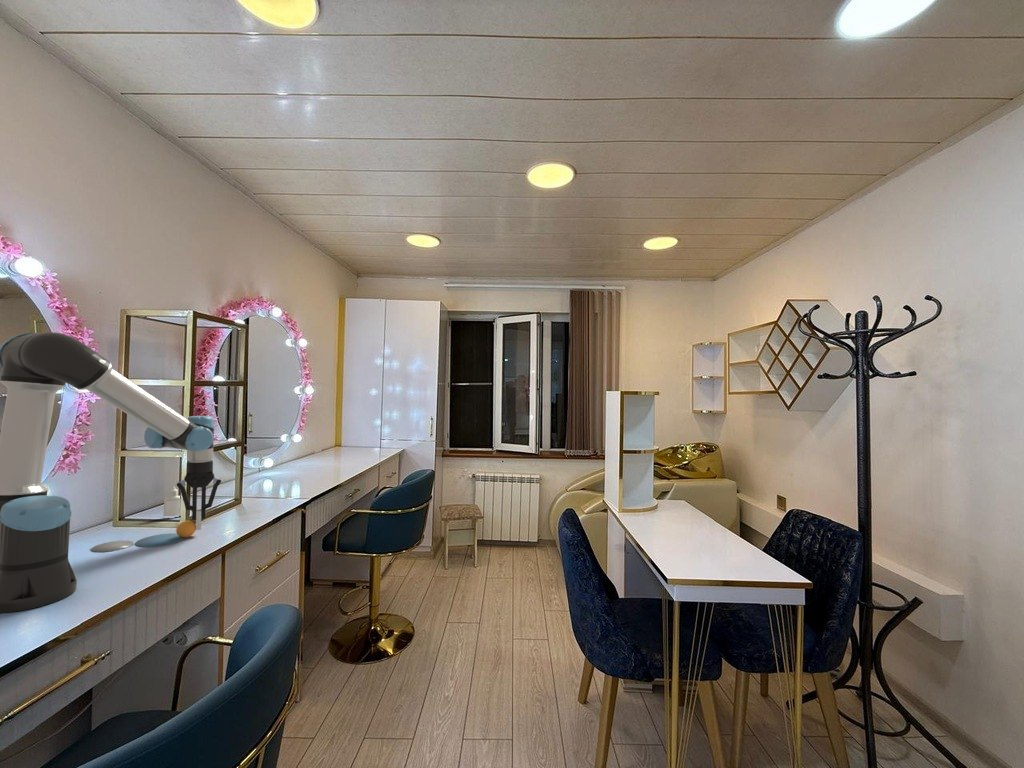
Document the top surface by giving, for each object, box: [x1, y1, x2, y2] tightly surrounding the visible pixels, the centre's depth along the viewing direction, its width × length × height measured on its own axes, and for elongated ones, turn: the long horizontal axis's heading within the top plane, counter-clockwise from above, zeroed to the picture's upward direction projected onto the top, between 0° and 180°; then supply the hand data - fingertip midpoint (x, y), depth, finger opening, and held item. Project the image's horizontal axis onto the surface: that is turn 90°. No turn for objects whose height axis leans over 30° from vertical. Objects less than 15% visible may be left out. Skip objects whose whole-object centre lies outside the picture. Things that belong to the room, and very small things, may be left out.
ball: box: [175, 520, 197, 538], centre depth 153 cm, size 6×6×6 cm
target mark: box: [135, 532, 186, 548], centre depth 149 cm, size 13×13×1 cm
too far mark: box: [90, 540, 134, 553], centre depth 142 cm, size 10×10×1 cm
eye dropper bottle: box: [163, 486, 181, 517], centre depth 174 cm, size 4×6×12 cm
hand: (198, 528), depth 155 cm, fingers closed
